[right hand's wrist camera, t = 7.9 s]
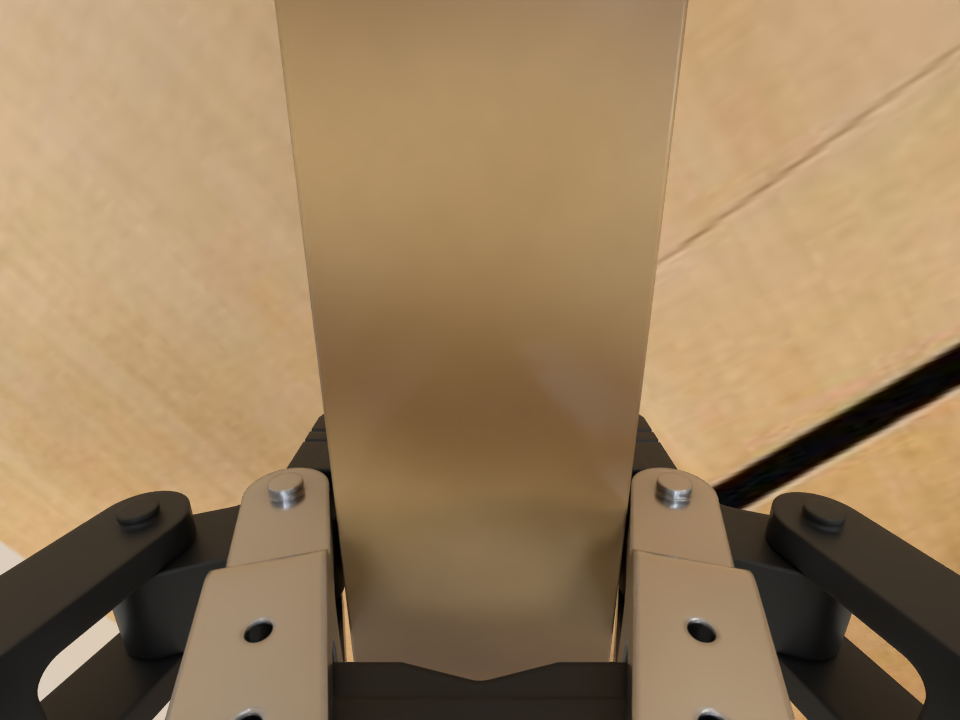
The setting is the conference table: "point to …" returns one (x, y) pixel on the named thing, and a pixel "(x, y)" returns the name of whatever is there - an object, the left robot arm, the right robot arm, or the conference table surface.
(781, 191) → the conference table surface
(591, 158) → the beam
